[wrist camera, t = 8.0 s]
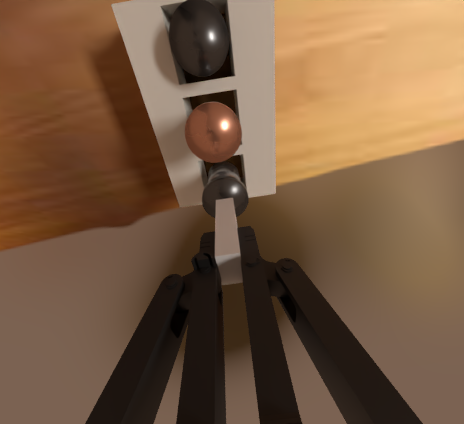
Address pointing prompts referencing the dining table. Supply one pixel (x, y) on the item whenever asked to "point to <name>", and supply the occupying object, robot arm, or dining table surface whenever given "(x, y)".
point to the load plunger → (213, 132)
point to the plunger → (224, 188)
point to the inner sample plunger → (198, 37)
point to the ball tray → (206, 89)
